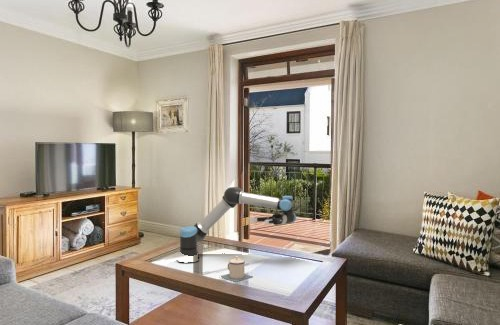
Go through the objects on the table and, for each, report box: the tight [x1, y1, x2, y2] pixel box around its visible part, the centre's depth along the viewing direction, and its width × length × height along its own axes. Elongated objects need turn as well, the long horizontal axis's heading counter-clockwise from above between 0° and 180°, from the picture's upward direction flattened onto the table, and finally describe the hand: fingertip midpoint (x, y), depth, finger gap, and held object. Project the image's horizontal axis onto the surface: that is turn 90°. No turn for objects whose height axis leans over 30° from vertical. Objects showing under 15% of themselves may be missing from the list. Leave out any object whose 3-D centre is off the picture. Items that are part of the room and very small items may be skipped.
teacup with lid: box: [227, 255, 246, 279], centre depth 179 cm, size 12×9×12 cm
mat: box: [220, 273, 254, 283], centre depth 179 cm, size 14×14×1 cm
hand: (257, 221), depth 198 cm, fingers open, 13 cm apart
